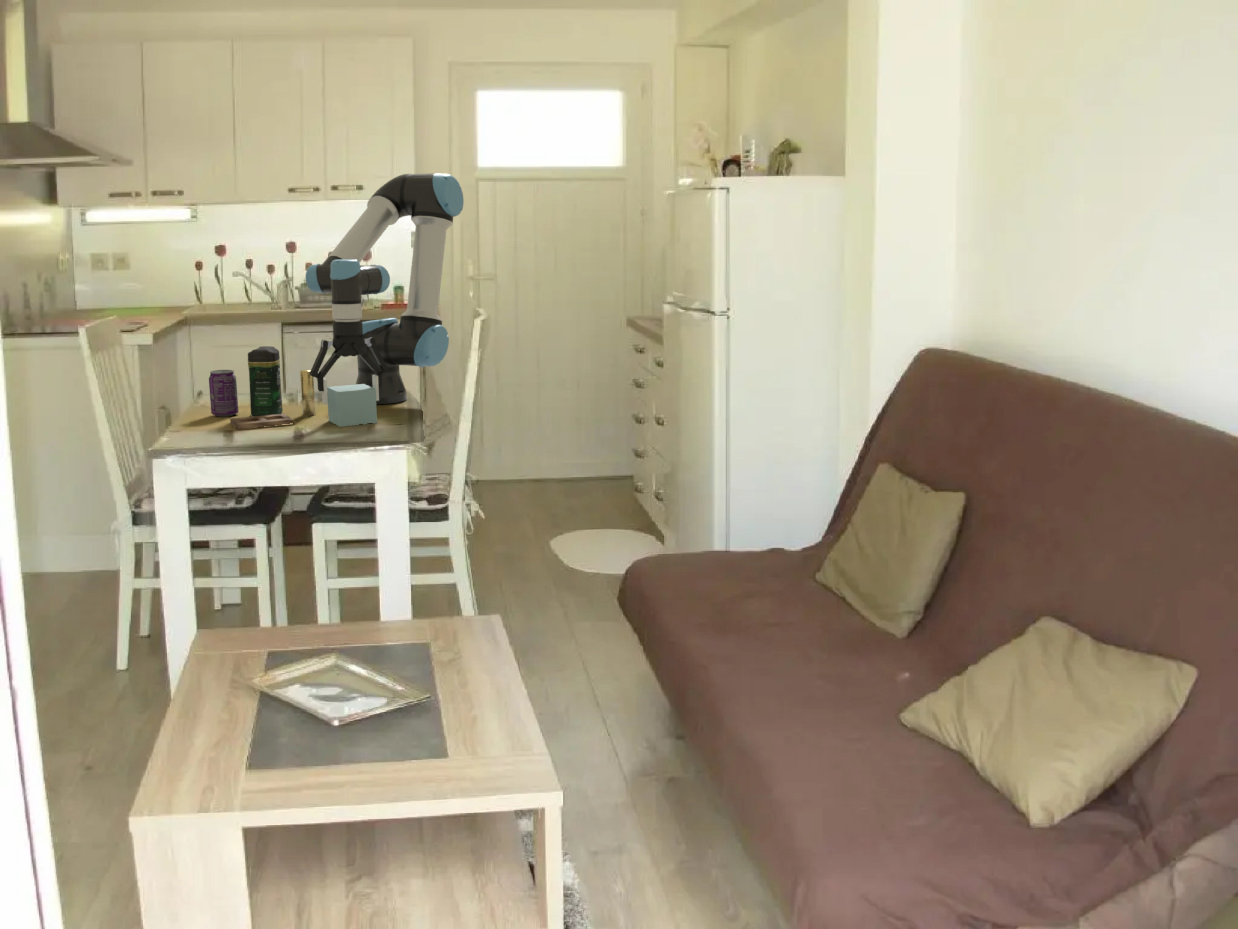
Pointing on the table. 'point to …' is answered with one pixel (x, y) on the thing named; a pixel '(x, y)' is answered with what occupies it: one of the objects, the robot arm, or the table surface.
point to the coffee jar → (265, 381)
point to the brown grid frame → (260, 421)
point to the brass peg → (307, 393)
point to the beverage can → (223, 393)
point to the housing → (352, 405)
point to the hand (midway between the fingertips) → (350, 402)
